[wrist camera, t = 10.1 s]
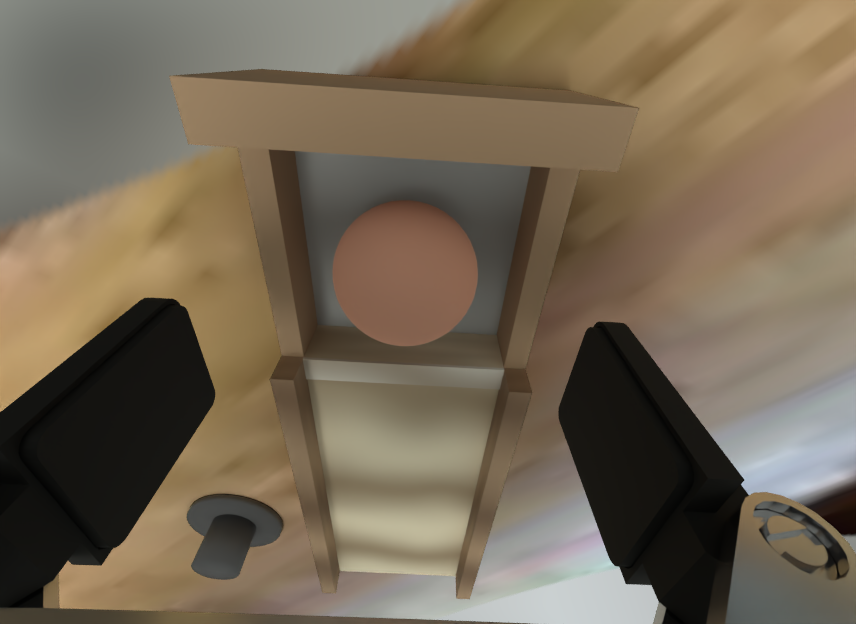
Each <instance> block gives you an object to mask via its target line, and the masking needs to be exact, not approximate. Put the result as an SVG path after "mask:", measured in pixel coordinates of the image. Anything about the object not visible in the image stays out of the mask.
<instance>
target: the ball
mask: <svg viewBox="0 0 856 624" xmlns="http://www.w3.org/2000/svg"><path fill="white" fill-rule="evenodd" d="M332 274H333V285H334V290H335V294H336V297H337V300H338V302H339V304H340V306H341V308H342V310H343V311H344V313H345V314H346V316H347V317H348V319H349V320H350V321H351V322H352V323H353V324H354V325H355V326H356V327H357V328H358V329H359V330H361V331H362V332H363V333H365V334H366V335H368V336H369V337H371V338H373V339H375V340H377V341H380V342H383V343H386V344H390V345H396V346H416V345H421V344H425V343H428V342H431V341H433V340H436V339H438V338H440V337H442V336H443V335H445V334H447V333H448V332H449V331H451V330H452V329H453V328H454V327H455V326H456V325H457V324H458V323H459V322H460V321H461V320H462V318H463V317H464V316H465V314H466V313H467V311H468V309H469V307H470V306H471V304H472V301H473V299H474V296H475V292H476V287H477V282H478V267H477V259H476V255H475V252H474V249H473V246H472V244H471V241H470V240H469V238H468V236H467V234H466V233H465V231H464V230H463V229H462V227H461V226H460V225H459V224H458V223H457V222H456V221H455V220H454V219H453V218H452V217H451V216H449V215H448V214H447V213H445V212H444V211H442V210H440V209H439V208H437V207H434V206H432V205H429V204H426V203H423V202H419V201H411V200H398V201H390V202H387V203H383V204H380V205H378V206H375V207H373V208H371V209H370V210H368V211H366V212H365V213H363V214H362V215H360V216H359V217H358V218H357V219H355V220H354V222H353V223H352V224H351V225H350V226H349V227H348V228H347V230H346V231H345V233H344V234H343V236H342V237H341V239H340V242H339V244H338V246H337V249H336V252H335V256H334V260H333V270H332Z"/></svg>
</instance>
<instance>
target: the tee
mask: <svg viewBox="0 0 856 624" xmlns="http://www.w3.org/2000/svg"><path fill="white" fill-rule="evenodd" d="M187 520H188V523H189V524H190V526H191V527H192V528H193V529H194V530H195V531H197V532H198V533H200V534H201V535H203V536H205V537H204V540H203V542H202V544H201V546H200V548H199V550H198V552H197V554H196V556H195V558H194V560H193V562H192V565H191V567H192V569H193V570H194V571H195V572H196V573H198V574H200V575H202V576H205V577H208V578H213V579H221V580H226V579H233V578H236V577H237V576H238V575H239V574H240V571H241V568H242V566H243V563H244V560H245V558H246V555H247V552H248V550H249V547H256V546H263V545H267V544H269V543H272V542H274V541H275V540H276V539H277V538H278V537H279V536H280V533H281V530H282V527H283V523H282V520H281V518H280V516H279V515H278V514H277V513H276V512H275V511H274V510H273V509H271V508H270V507H268V506H266V505H264V504H263V503H260V502H258V501H255V500H253V499H249V498H246V497H241V496H235V495H210V496H206V497H203V498H200V499H198V500H196V501H195V502H194V503H193V504H192V505H191V507H190V509H189V511H188V513H187Z"/></svg>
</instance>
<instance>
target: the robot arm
mask: <svg viewBox="0 0 856 624" xmlns="http://www.w3.org/2000/svg"><path fill="white" fill-rule="evenodd" d="M214 400H215V389H214V386H213V383H212V380H211V378H210V375H209V372H208V369H207V366H206V363H205V360H204V357H203V354H202V351H201V349H200V346H199V343H198V340H197V337H196V334H195V331H194V328H193V325H192V323H191V320H190V317H189V314H188V311H187V309H186V308H185V307H184V306H180V304H179V303H178V302H177V301H176V300H174V299H164V298H144V299H142V300H140V301H139V302H138V303H137V304H135V305H134V306H133V307H132V308H130V309H129V310H128V311H127V312H125V313H124V314H123V315H122V316H120V317H119V318H118V319H117V320H115V321H114V322H113V323H112V324H110V325H109V326H108V327H107V328H105V329H104V330H103V331H102V332H100V333H99V334H98V335H97V336H95V337H94V338H93V339H92V340H90V341H89V342H88V343H87V344H85V345H84V346H83V347H82V348H80V349H79V350H78V351H77V352H75V353H74V354H73V355H72V356H70V357H69V358H68V359H67V360H65V361H64V362H63V363H62V364H60V365H59V366H58V367H57V368H55V369H54V370H53V371H52V372H50V373H49V374H48V375H47V376H45V377H44V378H43V379H42V380H40V381H39V382H38V383H37V384H35V385H34V386H33V387H32V388H30V389H29V390H28V391H27V392H25V393H24V394H23V395H22V396H20V397H19V398H18V399H17V400H15V401H14V402H13V403H11V404H10V405H9V406H8V407H6V408H5V409H4V410H3V411H1V412H0V624H527V623H500V622H475V621H473V622H472V621H448V620H421V619H391V618H361V617H330V616H299V615H268V614H236V613H203V612H167V611H130V610H94V609H60V607H59V572H60V570H61V569H62V568H63V566H64V565H65V564H66V562H67V561H69V562H70V563H71V564H73V565H102V564H103V562H104V561H105V559H106V558H107V556H108V555H109V553H110V552H111V550H112V549H113V548H115V547H117V546H119V545H120V544H121V543H122V542H123V541H124V540H125V539H126V537H127V536H128V534H129V533H130V531H131V530H132V528H133V527H134V525H135V524H136V522H137V521H138V519H139V518H140V516H141V514H142V513H143V511H144V510H145V508H146V507H147V505H148V504H149V502H150V501H151V499H152V498H153V496H154V494H155V493H156V491H157V490H158V488H159V487H160V485H161V484H162V482H163V481H164V479H165V478H166V476H167V474H168V473H169V471H170V470H171V468H172V467H173V465H174V464H175V462H176V461H177V459H178V457H179V456H180V454H181V453H182V451H183V450H184V448H185V447H186V445H187V444H188V442H189V441H190V439H191V437H192V436H193V434H194V433H195V431H196V430H197V428H198V427H199V425H200V424H201V422H202V421H203V419H204V417H205V416H206V414H207V413H208V411H209V410H210V408H211V407H212V405H213V403H214ZM559 421H560V424H561V427H562V429H563V432H564V435H565V438H566V440H567V443H568V446H569V449H570V451H571V454H572V457H573V460H574V462H575V465H576V468H577V471H578V473H579V476H580V479H581V482H582V484H583V487H584V490H585V493H586V495H587V498H588V501H589V504H590V506H591V509H592V512H593V515H594V518H595V520H596V523H597V526H598V529H599V531H600V534H601V537H602V540H603V542H604V545H605V548H606V551H607V553H608V556H609V558H610V560H611V562H612V563H613V564H614V565H615V566H619V567H620V569H621V572H622V575H623V577H624V580H625V583H626V584H640V585H641V584H642V585H652V587H653V589H654V592H655V594H656V596H657V599H658V601H659V604H658V607H657V611H656V615H655V618H654V622H653V624H856V554H855V552H854V550H853V549H852V547H851V546H850V544H849V543H848V542H847V541H846V540H845V539H844V538H843V537H842V536H841V534H840V533H839V532H838V531H837V530H836V529H835V528H834V527H833V526H831V525H830V524H829V523H828V522H826V521H825V520H824V519H823V518H821V517H820V516H819V515H818V514H816V513H815V512H813V511H811V510H810V509H808V508H806V507H805V506H803V505H801V504H800V503H798V502H795V501H793V500H791V499H788V498H786V497H784V496H781V495H776V494H772V493H768V492H760V493H753V494H751V495H748V494H747V492H746V491H745V490H744V488H743V487H742V486H741V483H742V482H743V481H744V479H743V477H742V476H741V475H740V474H739V472H738V471H737V470H736V468H735V467H734V466H733V464H732V463H731V462H730V460H729V459H728V458H727V456H726V455H725V454H724V452H723V451H722V450H721V449H720V447H719V446H718V445H717V443H716V442H715V441H714V439H713V438H712V437H711V435H710V434H709V433H708V431H707V430H706V429H705V427H704V426H703V425H702V424H701V422H700V421H699V420H698V418H697V417H696V416H695V414H694V413H693V412H692V410H691V409H690V408H689V406H688V405H687V404H686V402H685V401H684V400H683V399H682V397H681V396H680V395H679V393H678V392H677V391H676V389H675V388H674V387H673V385H672V384H671V383H670V381H669V380H668V379H667V377H666V376H665V375H664V374H663V372H662V371H661V370H660V368H659V367H658V366H657V364H656V363H655V362H654V360H653V359H652V358H651V356H650V355H649V354H648V352H647V351H646V350H645V349H644V347H643V346H642V345H641V343H640V342H639V341H638V339H637V338H636V337H635V335H634V334H633V333H632V331H631V330H630V329H629V327H628V326H627V325H626V324H624V323H615V322H597V323H596V324H595V325H594V327H590V328H588V329H587V330H586V332H585V335H584V338H583V341H582V344H581V346H580V349H579V352H578V355H577V358H576V361H575V363H574V366H573V369H572V372H571V375H570V377H569V380H568V383H567V386H566V389H565V392H564V394H563V397H562V400H561V403H560V406H559Z"/></svg>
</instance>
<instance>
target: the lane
mask: <svg viewBox="0 0 856 624" xmlns="http://www.w3.org/2000/svg"><path fill="white" fill-rule="evenodd" d="M270 382H271V386H272V390H273V394H274V398H275V402H276V406H277V410H278V414H279V418H280V422H281V426H282V430H283V434H284V439H285V443H286V447H287V451H288V455H289V459H290V463H291V467H292V471H293V475H294V479H295V483H296V487H297V491H298V495H299V499H300V503H301V507H302V511H303V515H304V520H305V524H306V528H307V532H308V536H309V540H310V544H311V548H312V552H313V556H314V560H315V564H316V568H317V572H318V576H319V580H320V584H321V588H322V592H323V593H336V589H337V584H338V578H339V573H340V571H350V572H373V573H396V574H418V575H441V576H456V598H457V599H470V596H471V592H472V589H473V586H474V583H475V579H476V576H477V573H478V569H479V566H480V563H481V560H482V556H483V553H484V550H485V546H486V543H487V540H488V537H489V533H490V530H491V527H492V523H493V520H494V517H495V514H496V510H497V507H498V504H499V500H500V497H501V494H502V491H503V487H504V484H505V481H506V477H507V474H508V471H509V468H510V464H511V461H512V458H513V454H514V451H515V448H516V445H517V441H518V438H519V435H520V431H521V428H522V425H523V422H524V418H525V415H526V412H527V408H528V405H529V402H530V399H531V395H532V391H531V387H530V384H529V380H528V377H527V373H526V370H525V369H512V368H504V366H503V362H502V357H501V353H500V348H499V344H498V339H497V335H487V334H470V333H452V332H448V333H447V334H445V335H443V336H442V337H440V338H438V339H436V340H433V341H431V342H428V343H425V344H421V345H416V346H396V345H390V344H386V343H383V342H380V341H377V340H375V339H373V338H371V337H369V336H368V335H366V334H365V333H363V332H362V331H361V330H359V329H358V328H357V327H346V326H328V325H317V328H316V330H315V332H314V335H313V337H312V339H311V341H310V344H309V346H308V348H307V351H306V353H305V355H304V357H293V356H281V358H280V360H279V362H278V364H277V366H276V368H275V370H274V372H273V374H272V376H271V378H270Z"/></svg>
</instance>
